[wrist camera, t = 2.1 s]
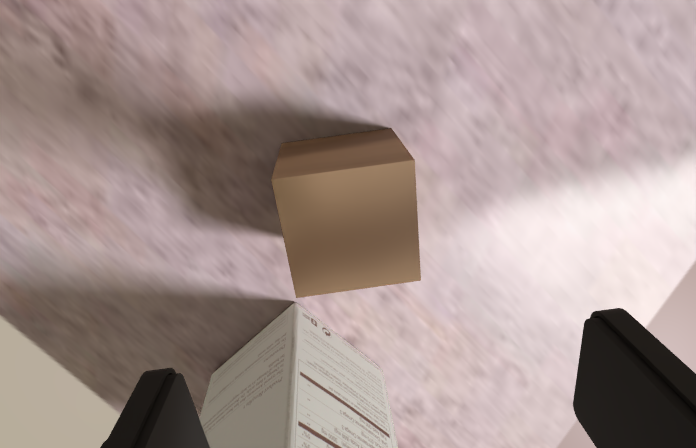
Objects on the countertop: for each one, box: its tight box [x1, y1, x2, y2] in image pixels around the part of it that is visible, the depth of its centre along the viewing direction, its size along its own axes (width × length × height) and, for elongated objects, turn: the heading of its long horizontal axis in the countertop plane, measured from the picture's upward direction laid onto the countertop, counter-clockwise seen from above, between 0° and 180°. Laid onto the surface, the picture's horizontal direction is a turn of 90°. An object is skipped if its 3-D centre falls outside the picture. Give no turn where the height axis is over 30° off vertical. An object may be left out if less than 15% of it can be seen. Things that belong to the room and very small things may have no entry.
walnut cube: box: [271, 128, 421, 298], centre depth 18 cm, size 5×5×5 cm
